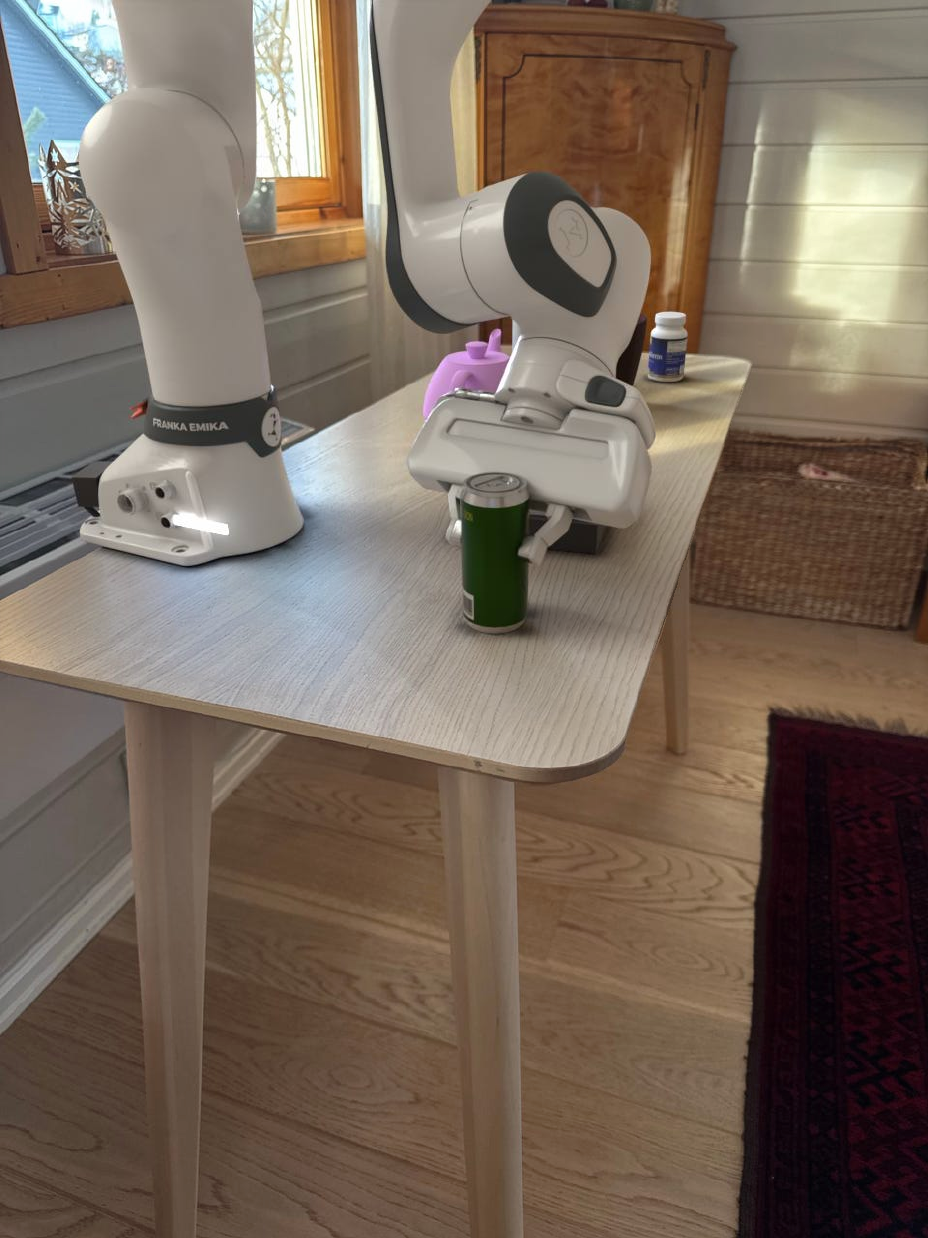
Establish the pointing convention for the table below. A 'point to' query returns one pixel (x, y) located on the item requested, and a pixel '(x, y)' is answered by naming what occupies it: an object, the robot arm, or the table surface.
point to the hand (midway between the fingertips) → (491, 552)
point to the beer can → (494, 551)
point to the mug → (632, 354)
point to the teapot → (468, 370)
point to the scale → (571, 534)
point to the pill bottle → (668, 347)
